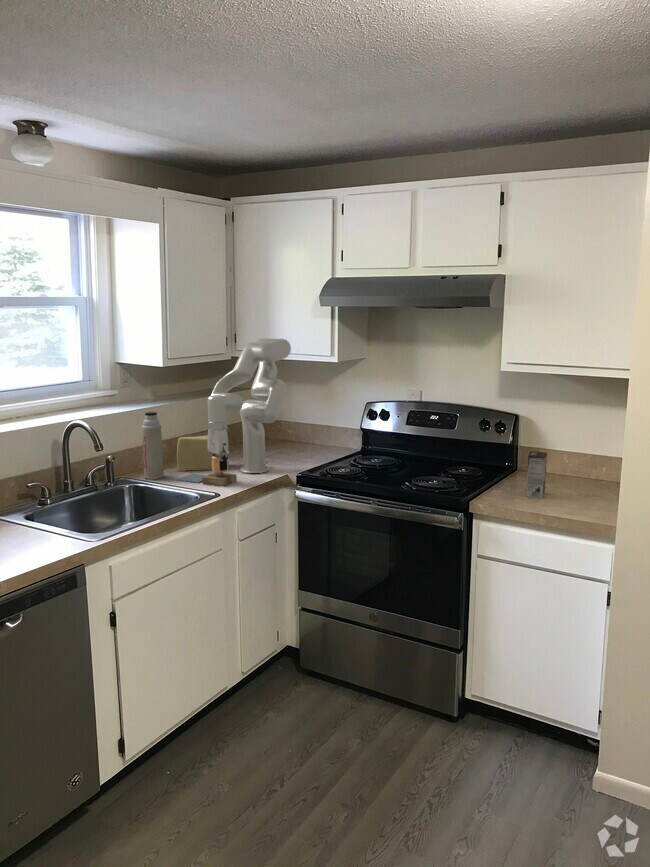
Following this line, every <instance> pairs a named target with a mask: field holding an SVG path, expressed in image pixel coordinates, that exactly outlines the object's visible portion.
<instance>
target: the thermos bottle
mask: <svg viewBox="0 0 650 867" xmlns="http://www.w3.org/2000/svg"><path fill="white" fill-rule="evenodd" d="M144 415H145V416H144V418H145V419H144V420H143V422H142V425H141V436H142V456H143V472H144V473H143V474H144V475H143V477H144V479H145V478H147V479H146V480H159V478H160V479H163V478H164V475H165V473H164V460H163V437H162V436H163V435H162V425H161V424H160V423H161V422H160V419H158V413H157V412H156V411H148V412H145V413H144Z"/></svg>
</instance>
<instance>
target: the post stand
mask: <svg viewBox="0 0 650 867" xmlns="http://www.w3.org/2000/svg"><path fill="white" fill-rule="evenodd" d="M206 475H207V476H204V477H202V480H203V482H202V485H204V484H205V485H206V486H212V485H214V487H220V486H224V487H226V486H229V485H231V484H233V483H232V482H234V483H235V481H236V482H237V478H238V476H237V474H236V473H230V472H229V473H228V472H221V473H218V472H213V473H209V474H206ZM230 483H231V484H230ZM228 484H229V485H228ZM225 485H226V486H225Z"/></svg>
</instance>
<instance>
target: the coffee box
mask: <svg viewBox="0 0 650 867" xmlns="http://www.w3.org/2000/svg"><path fill="white" fill-rule="evenodd" d="M527 457H528V458H527V476H526V477H527V478H526V482H527V483H526V497H527V498H533V499H543V498H544V496H545V493H546V482H547V480H546V479H547V457H548V452H546V451H545V452H542V451H535V450H534V451H530V452H529V454H528V455H527Z"/></svg>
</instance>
